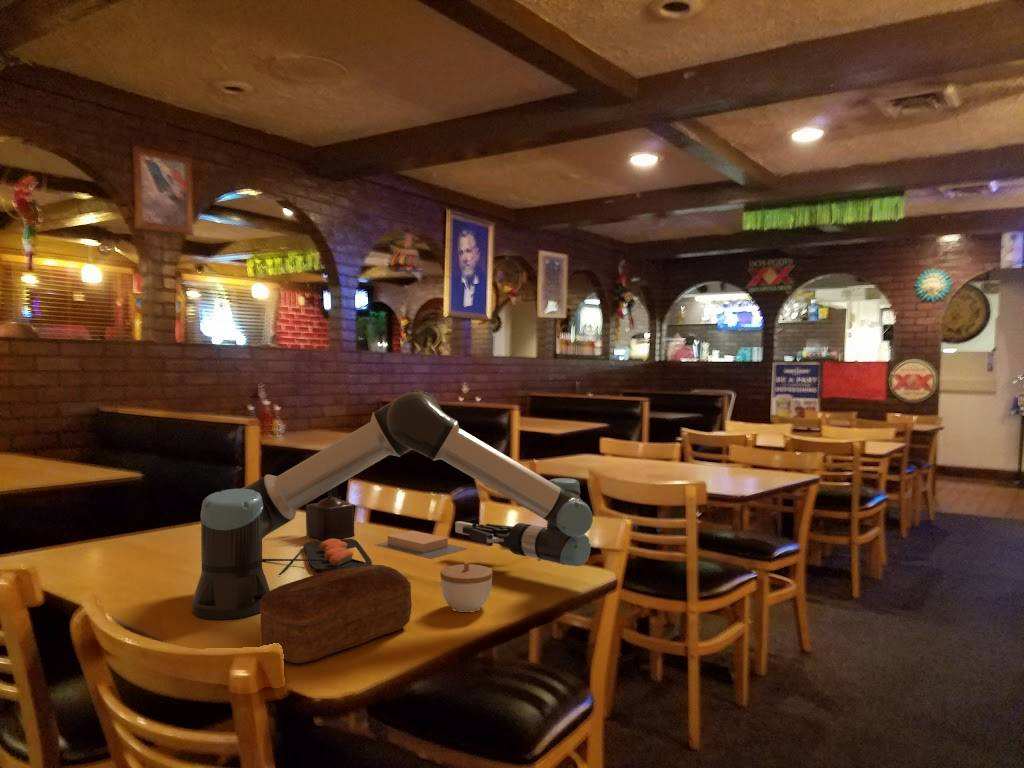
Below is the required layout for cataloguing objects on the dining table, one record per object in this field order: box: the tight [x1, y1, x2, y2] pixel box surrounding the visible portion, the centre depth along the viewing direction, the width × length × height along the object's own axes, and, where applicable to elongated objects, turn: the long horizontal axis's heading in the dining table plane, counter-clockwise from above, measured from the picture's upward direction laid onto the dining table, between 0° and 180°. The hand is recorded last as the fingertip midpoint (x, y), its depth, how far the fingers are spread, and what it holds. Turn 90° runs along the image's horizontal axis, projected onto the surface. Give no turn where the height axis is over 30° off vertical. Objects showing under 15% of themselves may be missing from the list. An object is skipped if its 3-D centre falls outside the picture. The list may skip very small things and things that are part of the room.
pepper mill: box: [305, 489, 355, 541], centre depth 217 cm, size 16×11×18 cm
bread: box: [259, 564, 413, 664], centre depth 134 cm, size 14×28×12 cm, turn 141°
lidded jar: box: [439, 562, 493, 612], centre depth 152 cm, size 11×11×9 cm
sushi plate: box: [262, 538, 373, 576], centre depth 188 cm, size 29×30×4 cm
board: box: [375, 541, 469, 560], centre depth 200 cm, size 22×14×1 cm, turn 51°
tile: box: [387, 530, 449, 553], centre depth 200 cm, size 2×9×14 cm
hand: (457, 526), depth 191 cm, fingers closed
